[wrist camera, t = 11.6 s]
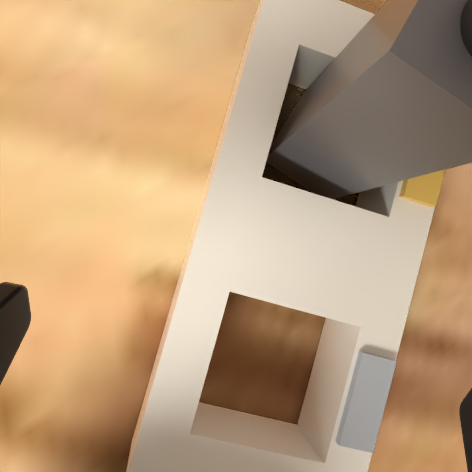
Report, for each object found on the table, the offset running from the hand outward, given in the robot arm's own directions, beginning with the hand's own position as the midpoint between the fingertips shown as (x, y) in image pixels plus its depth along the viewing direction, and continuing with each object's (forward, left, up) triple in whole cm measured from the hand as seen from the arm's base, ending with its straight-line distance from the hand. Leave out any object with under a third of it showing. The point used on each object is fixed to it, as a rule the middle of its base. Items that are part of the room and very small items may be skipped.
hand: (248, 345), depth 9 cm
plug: (+8, -4, -13) cm, 16 cm away
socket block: (+3, -4, -13) cm, 14 cm away
